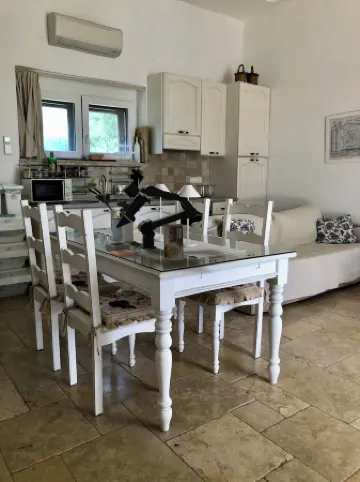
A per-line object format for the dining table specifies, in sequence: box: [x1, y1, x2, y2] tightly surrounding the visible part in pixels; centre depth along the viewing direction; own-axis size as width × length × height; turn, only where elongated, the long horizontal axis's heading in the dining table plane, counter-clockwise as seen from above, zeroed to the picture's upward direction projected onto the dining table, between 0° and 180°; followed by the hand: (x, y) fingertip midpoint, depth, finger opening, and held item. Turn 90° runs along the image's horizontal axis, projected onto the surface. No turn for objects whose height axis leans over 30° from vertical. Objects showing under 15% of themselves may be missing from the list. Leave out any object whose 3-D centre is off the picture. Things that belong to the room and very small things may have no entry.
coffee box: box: [162, 223, 185, 261], centre depth 189 cm, size 9×6×16 cm
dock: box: [105, 241, 136, 258], centre depth 207 cm, size 19×12×3 cm, turn 39°
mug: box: [122, 221, 135, 243], centre depth 233 cm, size 10×7×12 cm, turn 122°
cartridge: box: [111, 216, 123, 242], centre depth 210 cm, size 5×5×12 cm
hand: (115, 226), depth 209 cm, fingers closed on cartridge, 5 cm apart
